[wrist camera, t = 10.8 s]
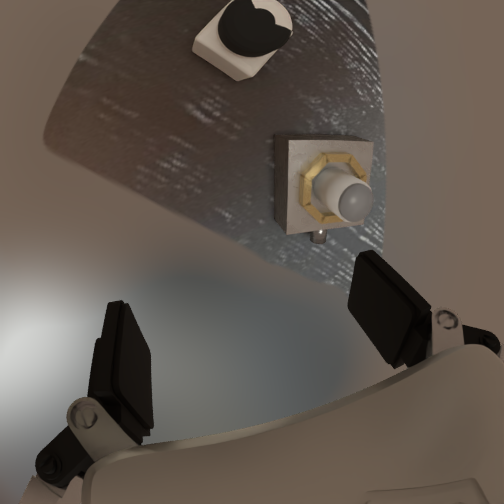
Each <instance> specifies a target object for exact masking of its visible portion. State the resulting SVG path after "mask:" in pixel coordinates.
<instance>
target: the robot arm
mask: <svg viewBox="0 0 504 504" xmlns="http://www.w3.org/2000/svg"><path fill="white" fill-rule="evenodd" d="M348 309H349V311H350V313H351V314H352V315H353V317H354V318H355V319H356V321H357V322H358V323H359V325H360V326H361V328H362V329H363V330H364V332H365V333H366V335H367V336H368V337H369V339H370V340H371V341H372V343H373V344H374V346H375V347H376V348H377V350H378V351H379V353H380V354H381V356H382V357H383V358H384V360H385V361H386V362H387V363H388V364H391V366H392V367H393V368H394V369H396V368H398V367H400V366H402V365H403V364H404V363H405V364H406V366H407V369H406V370H404V371H402V372H400V373H398V374H396V375H394V376H392V377H390V378H388V379H386V380H383V381H381V382H379V383H377V384H375V385H373V386H370V387H368V388H366V389H363V390H361V391H359V392H356V393H354V394H351V395H349V396H346V397H344V398H341V399H339V400H336V401H333V402H331V403H328V404H325V405H322V406H320V407H317V408H314V409H311V410H308V411H305V412H302V413H298V414H295V415H292V416H289V417H285V418H282V419H278V420H275V421H271V422H267V423H264V424H260V425H256V426H252V427H248V428H243V429H238V430H234V431H229V432H224V433H219V434H213V435H208V436H202V437H196V438H190V439H184V440H176V441H168V442H162V443H154V444H147V445H141V443H142V442H143V436H150V429H153V427H154V421H153V407H152V385H151V353H150V350H149V347H148V345H147V343H146V341H145V339H144V337H143V335H142V333H141V331H140V328H139V326H138V324H137V322H136V319H135V317H134V315H133V313H132V310H131V308H130V306H129V304H128V303H124V302H123V301H122V300H120V301H114V302H109V303H108V305H107V310H106V314H105V319H104V325H103V329H102V335H101V338H98V339H97V340H96V343H95V347H94V353H93V359H92V366H91V372H90V379H89V386H88V395H87V397H83V398H79V399H77V400H75V401H74V402H73V403H72V404H71V405H70V407H69V409H68V411H67V423H68V426H67V427H66V428H65V429H64V430H63V431H62V432H60V433H59V434H58V435H57V436H56V437H55V438H54V439H53V440H52V441H51V442H50V443H49V444H48V445H47V446H46V447H45V448H44V449H43V450H42V451H40V453H39V454H38V455H37V458H36V462H35V467H36V471H37V475H36V477H35V476H32V478H31V480H30V481H29V484H28V485H27V488H26V490H25V492H24V494H23V496H22V498H21V500H20V502H19V504H80V503H81V504H504V344H502V345H501V346H500V342H499V340H498V338H497V337H496V336H495V335H494V334H493V333H491V332H489V331H486V330H482V329H478V328H473V327H470V326H466V325H462V322H461V319H460V317H459V316H458V314H456V312H454V311H453V310H451V309H449V308H444V307H440V308H437V309H435V310H434V311H433V313H432V312H431V311H430V309H431V305H430V304H428V303H427V301H426V300H425V299H424V298H423V297H422V296H421V295H420V294H419V293H418V292H417V291H416V290H415V289H414V288H413V287H412V286H411V285H410V284H409V283H408V282H407V281H405V279H404V278H403V277H402V276H401V275H399V274H398V273H397V272H396V271H395V270H394V269H393V268H392V267H391V266H390V265H389V264H388V263H387V262H385V260H384V259H382V258H381V257H380V256H379V255H378V254H377V253H376V252H375V251H373V250H368V251H364V252H360V253H359V255H358V256H357V257H356V260H355V266H354V272H353V278H352V283H351V289H350V294H349V299H348Z"/></svg>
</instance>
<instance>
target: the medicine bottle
mask: <svg viewBox="0 0 504 504" xmlns="http://www.w3.org/2000/svg"><path fill="white" fill-rule="evenodd" d="M292 34H293V32H292V20H291V17H290V15H289V13H288V11H287V10H286V9H285V7H284V6H283V5H281V4H280V3H279V2H278V1H276V0H232V1H231V2H229V3H228V4H227V5H226V6H225V7H224V8H223V9H222V10H221V11H220V12H219V13H218V14H217V15H216V16H215V17H214V18H213V19H212V20H211V21H210V22H209V23H208V24H207V25H206V26H205V27H204V28H203V29H202V31H201V32H200V33H199V34H198V35H197V36H196V38H195V41H194V44H193V47H192V52H194V53H195V54H197V55H198V56H200V57H201V58H203V59H205V60H206V61H208V62H209V63H211V64H212V65H214V66H215V67H217V68H218V69H220V70H221V71H223V72H224V73H225V74H227V75H228V76H230V77H231V78H233V79H234V80H235V81H241V80H244V79H248V78H251V77H253V76H254V75H255V74H256V73H257V72H258V71H259V70H260V69H261V67H262V66H263V65H264V64H265V63H266V62H267V61H268V60H269V59H270V57H271V56H272V55H273V54H274V53H275V52H276V51H277V50H278V49H279V48H281V47H282V46H283V45H284V44H285V43H286V42H287V41H288V39H289V38H290V36H291V35H292Z"/></svg>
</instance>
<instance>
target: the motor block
mask: <svg viewBox="0 0 504 504" xmlns="http://www.w3.org/2000/svg"><path fill="white" fill-rule="evenodd" d="M372 153H373V142H372V141H369V140H366V139H362V138H359V137H356V136H352V135H325V134H284V135H274V219H275V221H276V222H277V223H278V225H279V226H280V227H281V228H282V230H283V231H284V232H285V233H286V235H288V234H295V233H303V232H310V241H311V242H313V243H315V244H323V243H325V242H326V236H327V229H332V228H339V227H347V226H354V225H362V224H364V219H362V220H360V221H358V222H345V221H343V220H342V219H341V218H339V217H338V216H337V215H336V214H334V213H333V212H332V211H331V210H330V209H328V208H327V207H326V206H325V205H323V204H322V203H321V202H320V201H318V199H317V198H316V196H315V192H314V185H315V182H316V179H317V177H318V176H319V175H320V174H321V173H322V172H323V171H324V170H326V169H328V168H339V169H341V170H343V171H345V172H347V173H349V174H351V175H352V176H354V177H356V178H358V179H360V180H362V181H364V182H365V183H367V184H368V185H369V182H370V173H371V164H372Z"/></svg>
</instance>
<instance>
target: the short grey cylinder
mask: <svg viewBox="0 0 504 504" xmlns="http://www.w3.org/2000/svg"><path fill="white" fill-rule="evenodd" d="M314 192H315V196H316V198H317V199H318V201H320V202H321V203H322V204H323V205H325V206H326V207H327V208H328V209H330V210H331V211H332V212H333V213H334V214H336V215H337V216H338V217H339V218H341V219H342V220H343V221H345V222H358V221H360V220H362V219H364V218H365V217H366V216H367V215H368V214H369V212H370V211H371V209H372V206H373V193H372V191H371V188H370V187H369V185H368V184H367V183H365V182H364V181H362V180H360V179H358V178H356V177H354V176H352V175H351V174H349V173H347V172H345V171H343V170H341V169H339V168H328V169H326V170H324V171H323V172H322V173H321V174H320V175H319V176H318V177H317V179H316V182H315V185H314Z"/></svg>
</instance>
